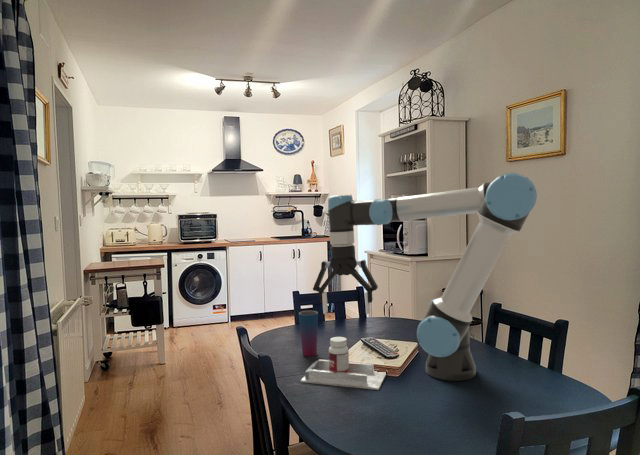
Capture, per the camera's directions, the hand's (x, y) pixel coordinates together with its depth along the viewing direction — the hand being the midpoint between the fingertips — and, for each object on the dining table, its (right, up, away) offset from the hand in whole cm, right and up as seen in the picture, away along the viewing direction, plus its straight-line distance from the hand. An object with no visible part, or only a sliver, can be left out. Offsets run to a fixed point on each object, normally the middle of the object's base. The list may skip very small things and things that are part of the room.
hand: (346, 313), depth 145 cm
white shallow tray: (-1, -20, -1) cm, 20 cm away
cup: (-12, -19, +22) cm, 31 cm away
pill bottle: (-2, -19, 0) cm, 19 cm away
